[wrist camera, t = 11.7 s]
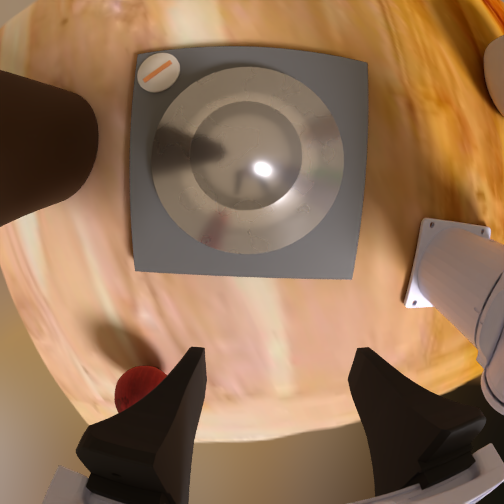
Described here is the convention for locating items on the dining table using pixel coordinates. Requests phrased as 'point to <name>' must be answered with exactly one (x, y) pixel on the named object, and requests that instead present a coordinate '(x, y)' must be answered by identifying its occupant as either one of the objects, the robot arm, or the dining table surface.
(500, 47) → the teacup
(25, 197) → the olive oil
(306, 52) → the scale base
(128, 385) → the onion
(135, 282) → the dining table surface
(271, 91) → the scale pan
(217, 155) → the cylinder
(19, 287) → the dining table surface
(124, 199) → the dining table surface
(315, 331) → the dining table surface
